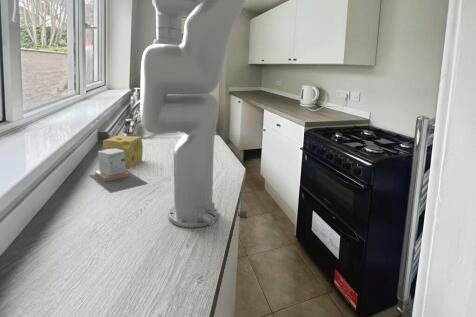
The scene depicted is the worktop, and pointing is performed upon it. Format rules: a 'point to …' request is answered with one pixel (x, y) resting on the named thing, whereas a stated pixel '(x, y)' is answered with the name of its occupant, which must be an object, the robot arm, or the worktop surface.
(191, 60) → the robot arm
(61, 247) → the worktop surface
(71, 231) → the worktop surface
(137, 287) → the worktop surface
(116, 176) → the tile
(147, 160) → the worktop surface
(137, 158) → the cheese
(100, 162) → the skincare box
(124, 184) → the mat
